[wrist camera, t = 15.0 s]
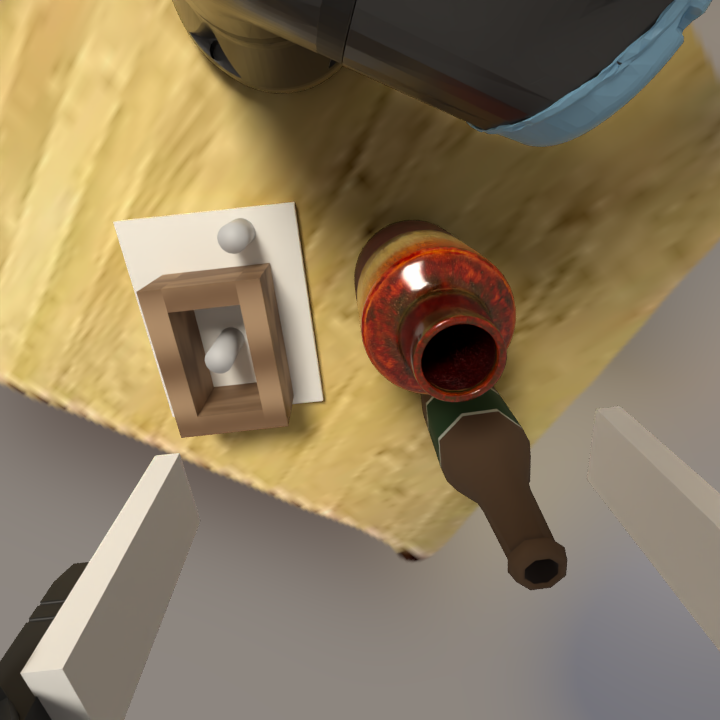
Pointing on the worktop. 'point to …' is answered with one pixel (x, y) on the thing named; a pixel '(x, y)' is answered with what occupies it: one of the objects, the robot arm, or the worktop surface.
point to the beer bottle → (496, 480)
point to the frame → (187, 356)
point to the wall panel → (222, 250)
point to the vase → (433, 312)
